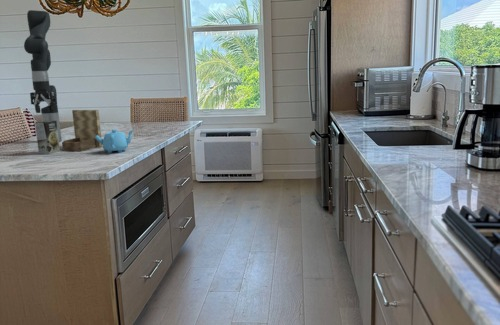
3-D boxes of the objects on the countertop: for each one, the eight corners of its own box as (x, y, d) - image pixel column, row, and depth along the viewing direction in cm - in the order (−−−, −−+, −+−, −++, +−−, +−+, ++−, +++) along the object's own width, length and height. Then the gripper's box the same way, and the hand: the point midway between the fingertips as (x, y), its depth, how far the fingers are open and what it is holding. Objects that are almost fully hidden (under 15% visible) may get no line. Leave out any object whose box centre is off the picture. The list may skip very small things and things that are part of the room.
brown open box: (62, 150, 230) (61, 141, 229) (79, 146, 241) (78, 137, 240) (81, 151, 225) (80, 141, 224) (96, 147, 236) (95, 138, 235)
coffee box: (49, 154, 220) (45, 122, 217) (38, 154, 222) (34, 122, 218) (60, 150, 229) (57, 120, 226) (49, 150, 230) (46, 120, 227)
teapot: (122, 148, 232) (120, 126, 230) (136, 150, 223) (134, 128, 221) (95, 152, 221) (93, 130, 219) (109, 155, 212) (107, 132, 210)
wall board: (76, 146, 241) (72, 110, 237) (78, 145, 243) (74, 109, 239) (99, 147, 236) (95, 110, 232) (102, 146, 238) (98, 110, 233)
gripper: (57, 79, 219) (61, 112, 222) (35, 80, 224) (39, 112, 227) (45, 80, 212) (50, 113, 215) (23, 81, 217) (28, 113, 220)
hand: (44, 112), depth 221 cm, fingers open, 8 cm apart
